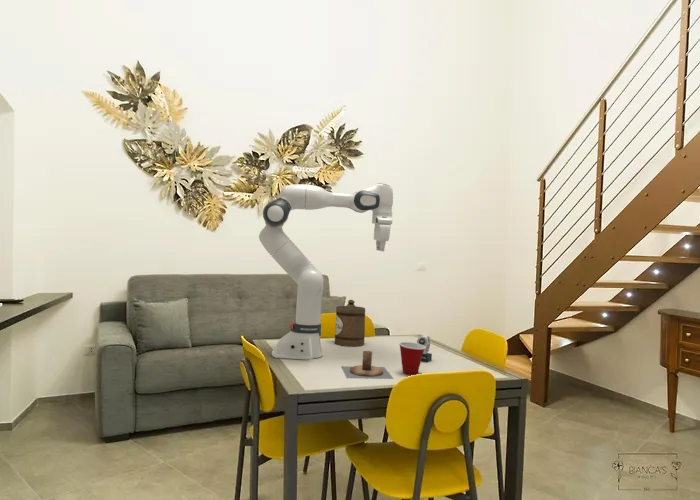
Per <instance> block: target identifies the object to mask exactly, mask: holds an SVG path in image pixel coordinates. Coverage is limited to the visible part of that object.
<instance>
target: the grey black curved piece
mask: <svg viewBox="0 0 700 500" xmlns="http://www.w3.org/2000/svg"><path fill="white" fill-rule="evenodd" d="M416 343H417V344H421V345H424V346H425V347H426V348H425V349H424V352H423V354H422V358H421V362H424V363H429V362H432V355H433V354H432V353H431V352H430V353H429V351H430V347H431V338H430V336H429V335H421V336H420V337H419V338H418V339H417V340H416Z"/></svg>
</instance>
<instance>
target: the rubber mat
mask: <svg viewBox="0 0 700 500" xmlns="http://www.w3.org/2000/svg"><path fill="white" fill-rule="evenodd" d="M351 367H353V366H351V365H350V366H343V365H342V366H341V369H342V371H343V373H344V375H345V378H346V379H368V380H369V379H372V380H375V379H377V380H378V379H380V380H385V379H386V380H389V379H390V380H394V377H393V376H392V375H391V374H390V372H389V371H388V370H387V368H386V367H385V366H378V367H379V368H381V369H383V374H382V375H380V376H374V377H366V376H358V375H354V374H352V373H351V372H350V368H351Z"/></svg>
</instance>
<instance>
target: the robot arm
mask: <svg viewBox="0 0 700 500" xmlns="http://www.w3.org/2000/svg"><path fill="white" fill-rule="evenodd" d="M393 204H394V193H393V188H392V187H391V186H390V185H389V184H386V183H381V182H378V183H375V184H374V185H372V186H370V187H367V188H364V189H360V190H358V191H355V192H353V193H341V192H340V193H339V192H338V193H337V192H331V191H328V190H326V189H325V188H323V187H321V186H318V185H313V184H305V183H304V184H303V183H302V184H301V183H300V184H299V183H297V184H294V183H293V184H286V185H284V186H283V187H282V188H281V189H280V192H279V197H278V198H276V199H274V200H271V201H270V202H268V203H267V204H266V205H265V206H264V207H263V210H262V217H263V221H264V223H265V226H264V227H263V228H262V229H261V231H260V232H259V235H258V240H259V241H260V243H261V245H262V246H263V247H264V249H265V251H266V252H267V253H268V254H269V255H270V256H271V257H272V258H273V260H274V261H275V262H276V263H277V264H278V266H280V267H281V268H282V270H284V272H286V274H287V275H288V276H290V278H291V279H292V280H293V281H294V282H295V284H297V294H296V296H297V297H296V307H295V322H290V323H289V327H290V331H289V332H287V333H286V334H284V335H283V336H282V337H280V338H279V340H278V342H277V345H276V348H274V349H273V350H272V351H271V356H272V357H273V358H276V359H292V360H293V359H294V360H306V361H307V360H308V361H309V360H312V359H317V358H320V357H323V355H324V354H323V351H322V345H321V335H322V323H321V321H322V318H321V317H322V304H323V303H322V302H323V296H324V295H323V294H324V276H323V274H322V273H321V271H319V270H318V268H317V267H316V266H315V265H314V264H313V263H312V262H311V261H310V260H309V259H308V257H307V256H306V255H305V254H304V253H303V252H302V251H301V249H299V247H298V246H297V245H296V244H295V243H294V242H293V241H292V240H291V239H290V237H288V235H287V234H286V232H284V230H283V226H284V224H286V223H287V221H288V219H289V214H290V212H291V211H293V210H307V211H311V210H312V211H315V210H320V209H325V208H329V207H330V208H332V207H333V208H347V209H350V210H352V211H354V212H356V213H358V214H359V213H360V214H361V213H366V212H368V211H372V214H371V217H372V218H371V224H374V230H373V240H374V241H375V245H376V249H375V250H376V251H380V252H385V248H386V243H387V242H389V240H390V237H391V227H392V226H391V225H392V224H393V211H392V209H393Z"/></svg>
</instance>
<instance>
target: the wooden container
mask: <svg viewBox="0 0 700 500" xmlns="http://www.w3.org/2000/svg"><path fill="white" fill-rule="evenodd" d="M335 310H336V314H335V325H334V328H335V329H334V344H336V345H338V346H344V347H362V346H363V345H365V332H366V308H365V307H364V306H357V305H355V300H353V299H349V300H348V301H347V304H346V305H337V306H336V309H335Z"/></svg>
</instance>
